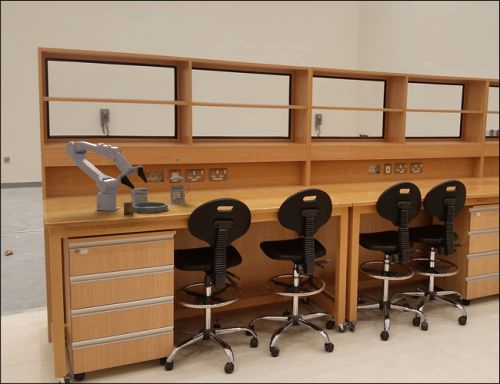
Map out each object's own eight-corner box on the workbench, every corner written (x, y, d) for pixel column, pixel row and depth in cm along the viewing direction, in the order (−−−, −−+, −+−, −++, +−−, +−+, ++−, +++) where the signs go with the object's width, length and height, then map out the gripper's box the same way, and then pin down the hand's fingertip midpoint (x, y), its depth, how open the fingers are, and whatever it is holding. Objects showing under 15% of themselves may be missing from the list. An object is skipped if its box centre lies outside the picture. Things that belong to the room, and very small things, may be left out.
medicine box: (134, 205, 265) (134, 189, 264) (131, 204, 269) (130, 188, 268) (147, 204, 270) (147, 188, 269) (144, 203, 274) (144, 187, 272)
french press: (167, 201, 280) (167, 157, 276) (188, 200, 283) (187, 157, 279) (169, 204, 270) (169, 159, 267) (190, 203, 273) (190, 159, 270)
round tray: (125, 211, 247) (125, 206, 246) (140, 205, 264) (140, 201, 264) (159, 213, 243) (159, 208, 243) (172, 207, 260) (172, 202, 260)
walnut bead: (122, 214, 239) (122, 202, 238) (126, 213, 244) (126, 201, 243) (130, 215, 238) (130, 203, 237) (134, 213, 243) (134, 201, 242)
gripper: (112, 166, 237) (128, 187, 234) (136, 154, 246) (153, 174, 242) (110, 175, 243) (127, 194, 240) (135, 163, 251) (151, 181, 248)
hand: (140, 184), depth 242 cm, fingers open, 7 cm apart
